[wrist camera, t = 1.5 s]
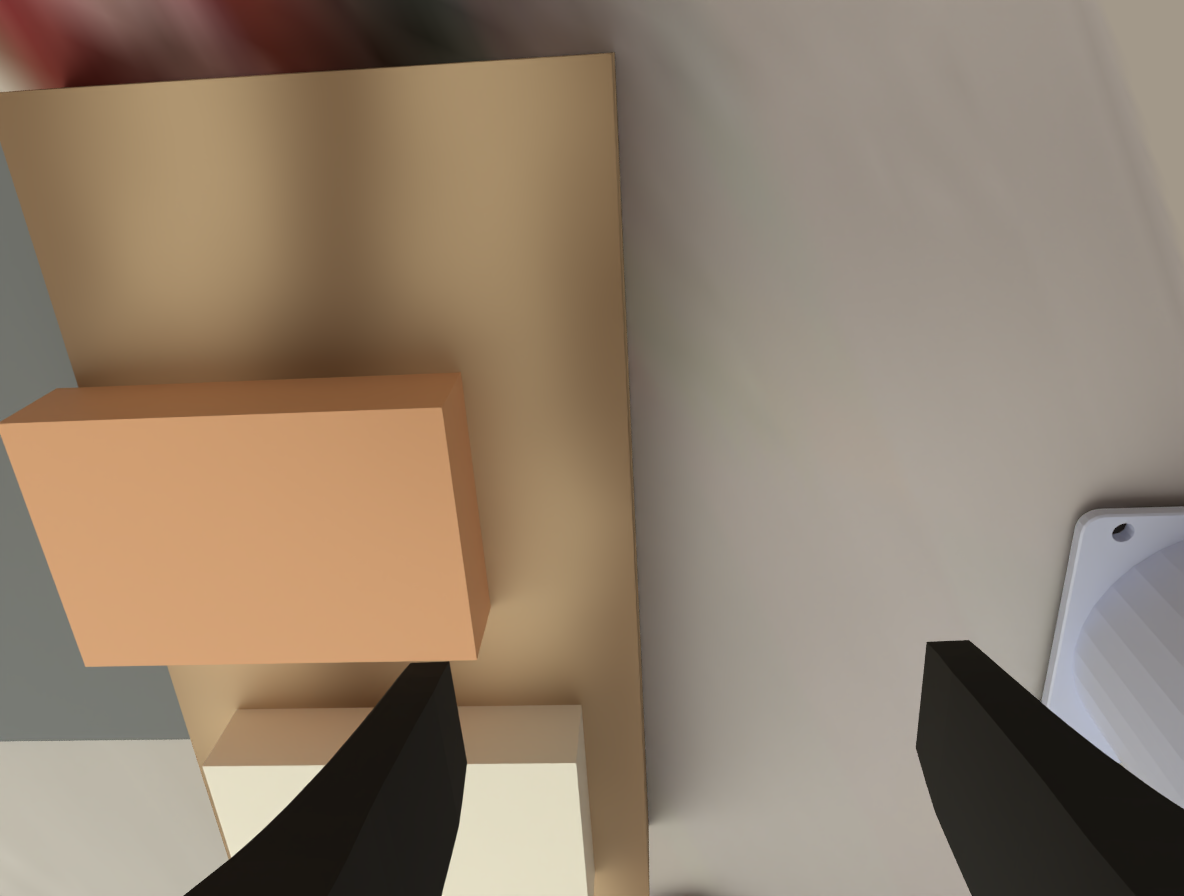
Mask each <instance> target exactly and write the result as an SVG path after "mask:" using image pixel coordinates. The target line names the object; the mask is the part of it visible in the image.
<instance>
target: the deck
mask: <svg viewBox="0 0 1184 896" xmlns="http://www.w3.org/2000/svg"><path fill="white" fill-rule="evenodd" d="M0 143H1V146H2V149H3V152H4V155H5V158H6V161H7V165H8V168H9V171H10V174H11V177H12V180H13V183H14V187H15V190H16V193H17V196H18V199H19V202H20V205H21V209H22V212H23V215H24V218H25V221H26V224H27V227H28V231H29V234H30V237H31V240H32V243H33V246H34V249H35V253H36V256H37V259H38V262H39V265H40V268H41V271H42V275H43V278H44V281H45V284H46V287H47V290H48V293H49V296H50V300H51V303H52V306H53V309H54V312H55V315H56V318H57V322H58V325H59V328H60V331H61V334H62V337H63V340H64V344H65V347H66V350H67V353H68V356H69V359H70V362H71V366H72V369H73V372H74V375H75V378H76V381H77V384H78V387H103V386H128V385H153V384H179V383H204V382H229V381H255V380H280V379H305V378H331V377H356V376H381V375H407V374H432V373H457V372H461V377H462V385H463V393H464V401H465V409H466V417H467V425H468V433H469V440H470V448H471V456H472V464H473V472H474V480H475V488H476V496H477V504H478V511H479V519H480V527H481V535H482V543H483V551H484V559H485V567H486V575H487V582H488V590H489V598H490V606H491V608H490V612H489V616H488V620H487V624H486V627H485V631H484V635H483V639H482V643H481V646H480V650H479V654H478V658H477V660H460V661H449V662H450V668H451V673H452V679H453V685H454V690H455V696H456V702H457V706H525V705H581V707H582V719H583V732H584V744H585V757H586V769H587V782H588V794H589V806H590V819H591V831H592V844H593V856H594V869H595V880H594V896H649V827H648V804H647V781H646V758H645V735H644V713H643V690H642V667H641V644H640V621H639V598H638V576H637V553H636V530H635V507H634V484H633V461H632V439H631V416H630V393H629V370H628V347H627V324H626V301H625V279H624V256H623V233H622V210H621V187H620V164H619V142H618V119H617V96H616V73H615V52H614V53H598V54H583V55H567V56H551V57H535V58H520V59H504V60H488V61H473V62H457V63H441V64H426V65H410V66H394V67H379V68H363V69H347V70H332V71H316V72H300V73H285V74H269V75H253V76H238V77H222V78H206V79H190V80H175V81H159V82H143V83H128V84H112V85H96V86H81V87H65V88H51V89H38V90H25V91H12V92H0ZM420 662H445V661H401V662H342V663H282V664H223V665H167V667H168V670H169V673H170V676H171V680H172V683H173V686H174V689H175V692H176V695H177V698H178V702H179V705H180V708H181V711H182V714H183V717H184V720H185V723H186V727H187V730H188V733H189V736H190V739H191V742H192V745H193V749H194V752H195V755H196V758H197V761H198V764H199V767H200V771H201V774H202V777H203V780H204V783H205V786H206V789H207V793H208V796H209V799H210V802H211V805H212V808H213V811H214V815H215V818H216V821H217V824H218V827H219V830H220V833H221V837H222V840H223V843H224V846H225V849H226V852H227V855H228V859H230V858H231V855H230V852H229V849H228V846H227V843H226V840H225V836H224V833H223V830H222V827H221V824H220V821H219V817H218V814H217V811H216V808H215V805H214V802H213V798H212V795H211V792H210V789H209V786H208V783H207V780H206V776H205V773H204V770H203V767H202V766H203V765H204V763H205V761H206V760H207V758H208V756H209V755H210V753H211V751H212V750H213V748H214V746H215V745H216V743H217V741H218V740H219V738H220V736H221V735H222V733H223V731H224V730H225V728H226V726H227V725H228V723H229V721H230V720H231V718H232V717H233V715H234V713H235V712H236V710H237V709H299V708H374V707H375V706H376V704H377V703H378V702H379V701H380V699H381V698H382V697H383V696H384V694H385V693H386V692H387V691H388V689H389V688H390V687H391V685H392V684H393V683H394V682H395V680H396V679H397V678H398V677H399V675H400V674H401V673H402V672H403V670H404V669H405V668H406V667H407V666H408V665H409V664H410V663H420Z"/></svg>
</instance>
